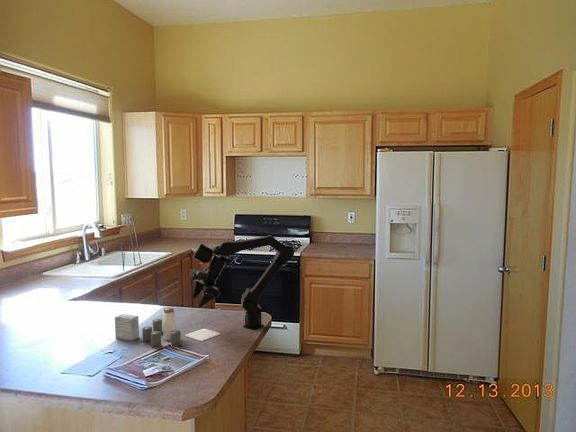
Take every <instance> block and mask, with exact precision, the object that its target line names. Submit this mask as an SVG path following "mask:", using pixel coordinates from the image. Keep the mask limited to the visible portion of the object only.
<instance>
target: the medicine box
mask: <svg viewBox="0 0 576 432" xmlns="http://www.w3.org/2000/svg"><path fill="white" fill-rule="evenodd" d="M139 324H140V323H139V315H132V314H126V313H123V314H122V313H121V314H119V315H117V316H115V317H114V326H115V327H114V331H115V339H118V340H126V341H134V340H136V339H138V338H139V337H140V325H139Z"/></svg>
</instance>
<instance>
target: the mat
mask: <svg viewBox="0 0 576 432" xmlns="http://www.w3.org/2000/svg"><path fill="white" fill-rule="evenodd" d="M218 336H221V333H220V332H217V331H214V330H210V329H207V328H202V329H198V330H196V331H193V332H190V333H187V334H184V337H186V338H189V339H193V340H195V341H198V342H205V341H207V340H209V339H212V338H215V337H218Z"/></svg>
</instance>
